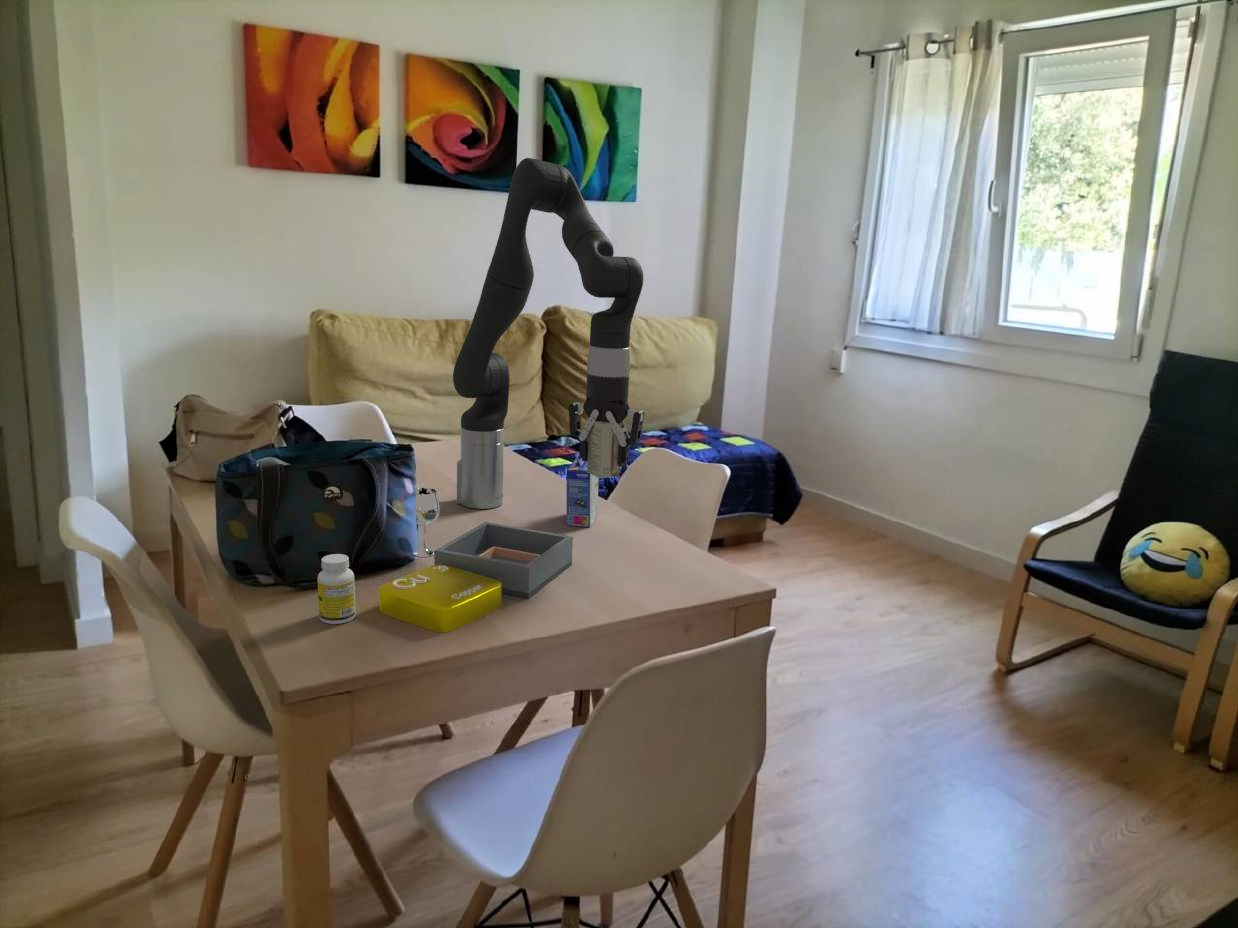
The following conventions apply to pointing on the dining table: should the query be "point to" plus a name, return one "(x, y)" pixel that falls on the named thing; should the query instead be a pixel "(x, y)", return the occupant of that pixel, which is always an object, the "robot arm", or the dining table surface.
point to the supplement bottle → (336, 590)
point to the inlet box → (509, 556)
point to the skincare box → (603, 451)
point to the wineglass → (426, 514)
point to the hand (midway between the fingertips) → (603, 462)
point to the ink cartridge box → (581, 494)
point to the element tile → (440, 597)
